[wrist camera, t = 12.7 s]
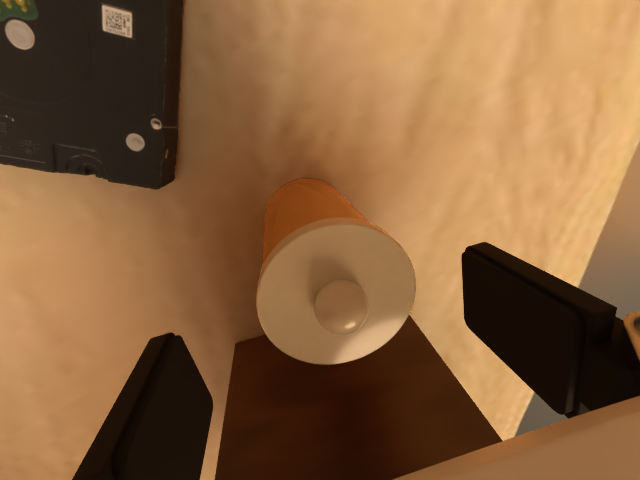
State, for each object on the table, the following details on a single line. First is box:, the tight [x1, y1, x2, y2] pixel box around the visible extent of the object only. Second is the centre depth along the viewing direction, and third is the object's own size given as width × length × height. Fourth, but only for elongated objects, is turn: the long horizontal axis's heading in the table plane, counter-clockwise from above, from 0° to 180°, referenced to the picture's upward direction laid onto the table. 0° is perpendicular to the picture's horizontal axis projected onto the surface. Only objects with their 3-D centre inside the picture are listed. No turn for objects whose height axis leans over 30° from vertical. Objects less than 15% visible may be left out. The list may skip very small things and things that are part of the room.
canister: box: [256, 178, 416, 365], centre depth 14 cm, size 6×6×10 cm
